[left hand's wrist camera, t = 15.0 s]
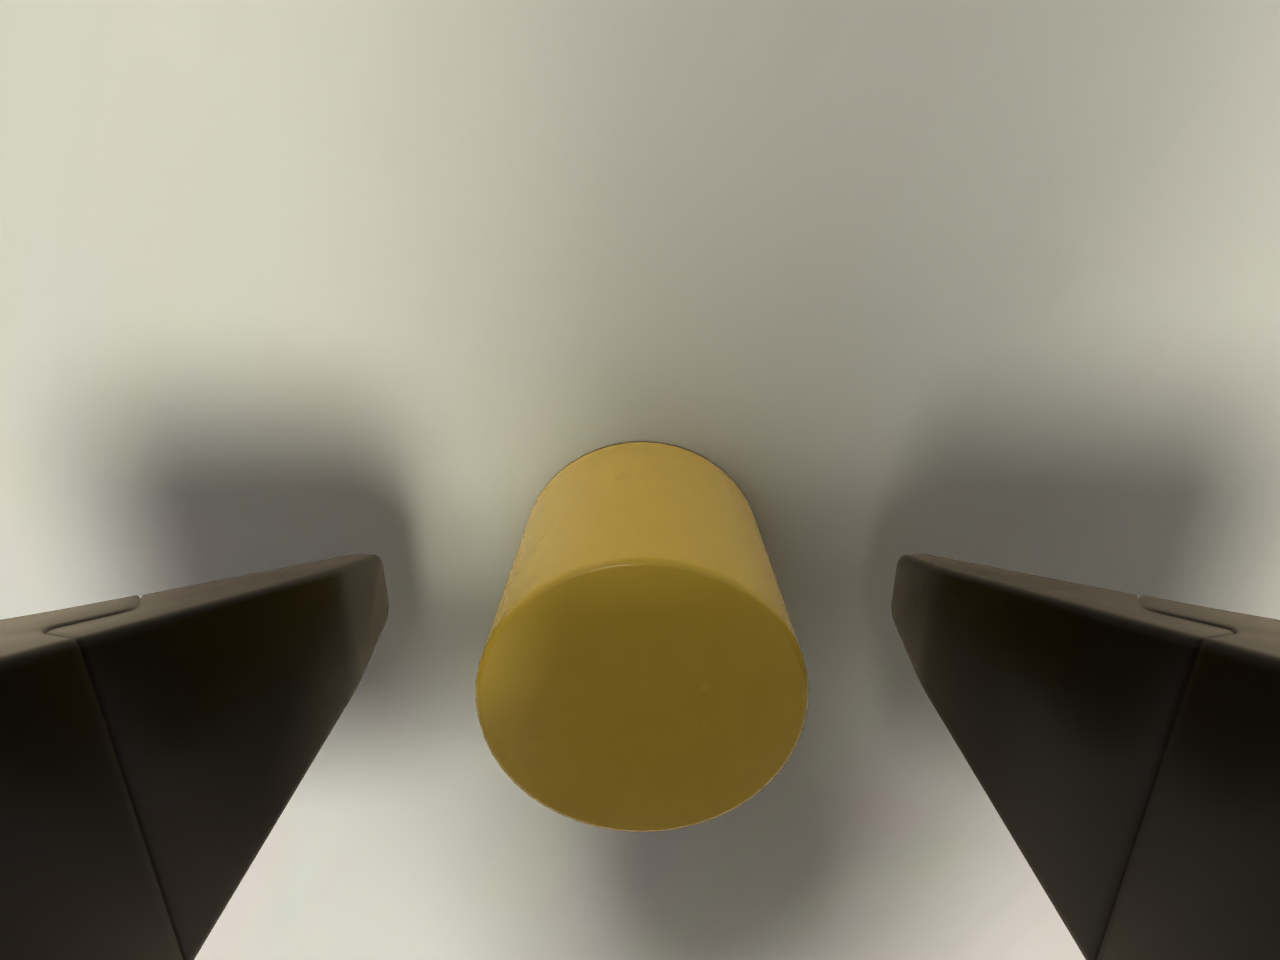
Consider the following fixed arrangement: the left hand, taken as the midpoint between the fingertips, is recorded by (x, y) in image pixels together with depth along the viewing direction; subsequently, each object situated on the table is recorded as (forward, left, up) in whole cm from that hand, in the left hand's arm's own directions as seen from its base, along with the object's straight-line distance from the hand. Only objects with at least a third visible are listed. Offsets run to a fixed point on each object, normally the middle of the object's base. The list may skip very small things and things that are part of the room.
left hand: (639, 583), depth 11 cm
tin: (0, 0, -1) cm, 1 cm away
